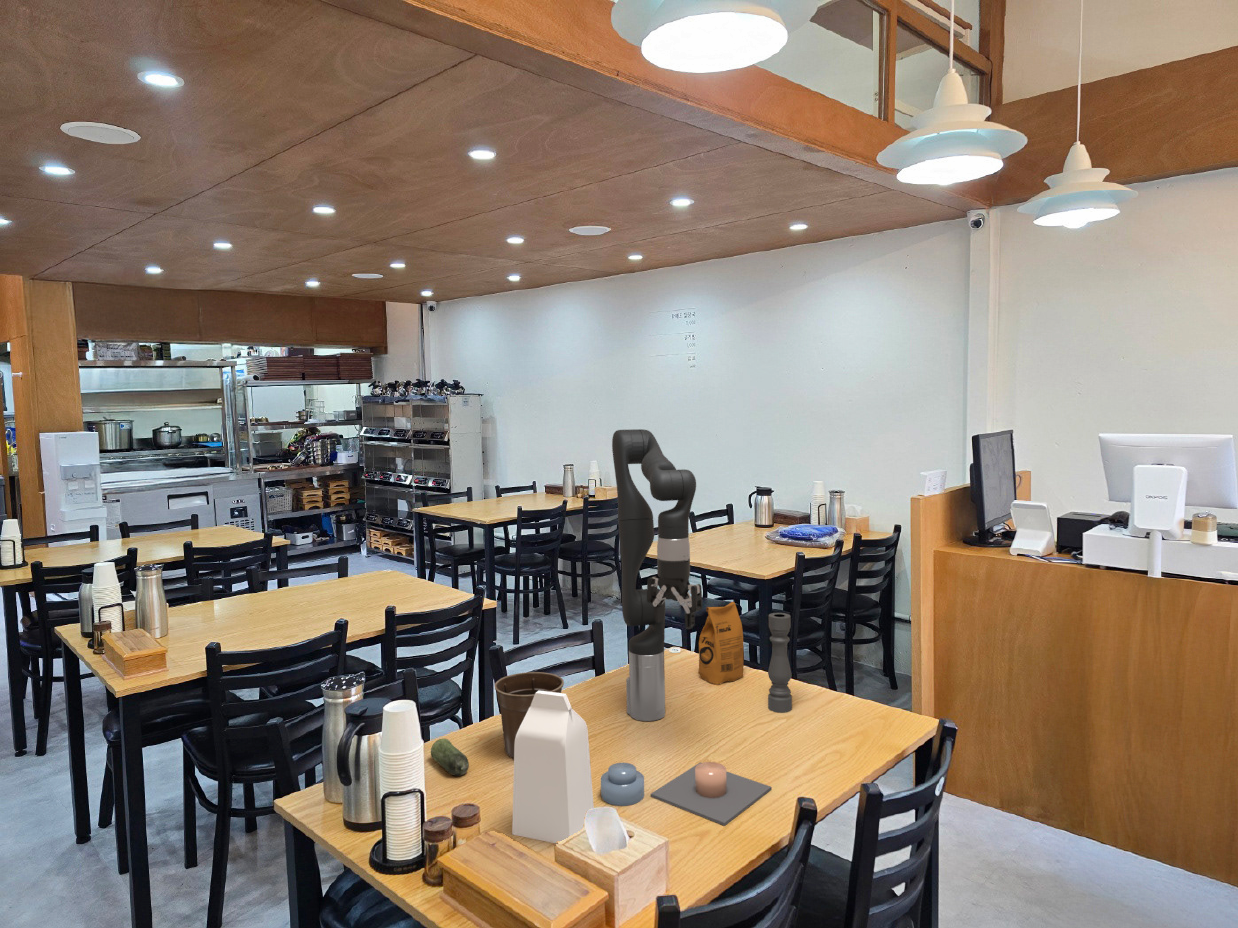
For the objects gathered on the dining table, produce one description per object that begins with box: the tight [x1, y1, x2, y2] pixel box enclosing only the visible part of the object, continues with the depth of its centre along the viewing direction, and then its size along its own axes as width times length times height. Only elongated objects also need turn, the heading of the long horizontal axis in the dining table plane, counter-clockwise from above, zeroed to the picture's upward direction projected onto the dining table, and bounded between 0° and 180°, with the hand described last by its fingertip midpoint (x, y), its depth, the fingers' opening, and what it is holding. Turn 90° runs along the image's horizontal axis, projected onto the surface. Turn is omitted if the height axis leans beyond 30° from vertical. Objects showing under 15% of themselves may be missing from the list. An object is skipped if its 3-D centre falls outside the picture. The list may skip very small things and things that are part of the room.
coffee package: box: [698, 601, 744, 686], centre depth 227 cm, size 10×12×22 cm
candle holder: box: [767, 612, 793, 714], centre depth 203 cm, size 6×6×25 cm
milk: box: [511, 691, 595, 844], centre depth 148 cm, size 12×12×26 cm
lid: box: [695, 761, 727, 798], centre depth 159 cm, size 6×6×4 cm
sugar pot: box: [600, 762, 645, 807], centre depth 159 cm, size 9×9×6 cm
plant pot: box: [494, 671, 565, 759], centre depth 181 cm, size 16×16×16 cm
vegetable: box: [430, 738, 470, 777], centre depth 173 cm, size 14×5×5 cm, turn 36°
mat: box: [650, 761, 772, 827], centre depth 159 cm, size 18×18×1 cm
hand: (674, 624), depth 178 cm, fingers open, 8 cm apart
